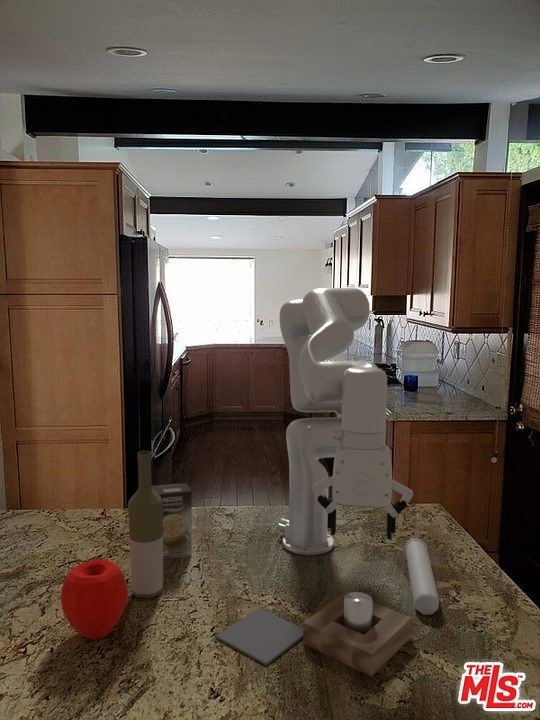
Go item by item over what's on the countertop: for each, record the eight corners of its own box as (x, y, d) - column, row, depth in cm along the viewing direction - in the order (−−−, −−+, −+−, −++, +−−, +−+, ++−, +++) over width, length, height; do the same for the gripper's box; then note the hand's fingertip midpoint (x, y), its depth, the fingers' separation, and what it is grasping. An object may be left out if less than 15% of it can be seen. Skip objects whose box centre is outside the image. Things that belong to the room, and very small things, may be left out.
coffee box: (153, 562, 136) (151, 495, 134) (149, 550, 142) (148, 485, 140) (192, 556, 139) (191, 490, 137) (187, 544, 145) (186, 481, 143)
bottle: (171, 588, 124) (169, 450, 120) (151, 604, 118) (148, 459, 114) (143, 581, 127) (140, 446, 123) (122, 596, 121) (119, 454, 117)
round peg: (337, 641, 106) (338, 600, 105) (352, 629, 110) (353, 589, 109) (362, 653, 103) (363, 610, 102) (376, 639, 107) (377, 598, 106)
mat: (215, 638, 107) (215, 635, 107) (259, 610, 116) (259, 607, 116) (266, 665, 100) (266, 663, 100) (308, 633, 109) (308, 631, 109)
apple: (76, 613, 115) (73, 548, 113) (136, 615, 114) (134, 549, 113) (51, 651, 103) (48, 579, 101) (118, 653, 103) (116, 580, 101)
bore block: (303, 643, 106) (303, 622, 105) (345, 610, 116) (345, 591, 116) (371, 677, 97) (372, 654, 96) (410, 638, 108) (411, 617, 107)
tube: (446, 601, 113) (430, 543, 138) (419, 591, 114) (408, 534, 138) (435, 625, 114) (422, 563, 139) (409, 614, 115) (400, 554, 139)
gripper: (310, 442, 99) (309, 539, 101) (416, 447, 97) (412, 547, 99) (315, 431, 107) (313, 522, 109) (413, 436, 104) (410, 529, 106)
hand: (360, 534), depth 104 cm, fingers open, 9 cm apart
